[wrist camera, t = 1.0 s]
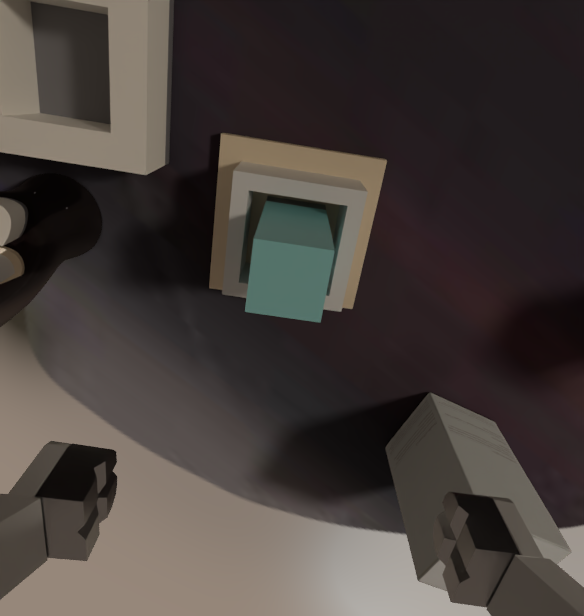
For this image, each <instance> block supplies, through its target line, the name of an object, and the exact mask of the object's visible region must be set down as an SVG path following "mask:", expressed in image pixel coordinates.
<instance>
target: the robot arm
mask: <svg viewBox="0 0 584 616" xmlns="http://www.w3.org/2000/svg"><path fill="white" fill-rule="evenodd" d="M116 460H117V459H116V451H114V450H111V449H104V448H98V447H91V446H84V445H78V444H68V443H62V442H55V441H50V442H49V443H47V444H46V445H45V446H44V447H43V449H42V450H41V451H40V452H39V454H38V455H37V456H36V458H35V459H34V460H33V462H32V463H31V464H30V466H29V467H28V468H27V470H26V471H25V473H24V474H23V475H22V476H21V478H20V479H19V480H18V482H17V483H16V484H15V486H14V487H13V488H12V490H11V491H10V492H9V494H0V599H2V598H3V597H4V596H5V595H6V594H8V592H10V591H11V590H12V589H13V588H15V587H16V586H17V585H18V584H19V583H21V582H22V581H23V580H24V579H25V578H26V577H28V576H29V575H30V574H31V573H33V572H34V571H35V570H36V569H37V568H39V567H40V566H41V565H42V564H43V563H45V562H46V561H47V558H57V559H70V560H83V561H87V560H88V557H89V555H90V553H91V551H92V549H93V547H94V545H95V542H96V540H97V538H98V536H99V523H100V522H101V521H103V520H104V519H106V518H107V517H108V514H109V512H110V510H111V507H112V505H113V501H114V498H115V495H116V488H117V476H116V475H115V473H114V472H113V469H114V467H115V465H116V462H117V461H116ZM442 504H443V506H444V509H445V510H444V511H443V512H442V513H440V514H439V515H437V517H436V520H435V523H434V526H433V542H434V548H435V552H436V555H437V557H438V558H439V559H440V560H441V561H442V562H443V563H444V565H445V566H446V567H445V569H444V571H443V574H442V575H443V578H444V581H445V585H446V588H447V591H448V594H449V598H450V601H451V602H453V603H460V604H468V605H474V606H481V607H487V610H488V612H489V613H490V614H491V616H584V587H582V586H581V585H580V584H579V583H578V582H576V581H575V580H574V579H573V578H572V577H571V576H569V575H568V574H567V573H566V572H565V571H564V570H562V569H561V568H560V567H559V566H558V565H557V564H555V563H554V562H553V561H552V560H551V559H547V558H544V557H543V556H542V554H541V552H540V550H539V548H538V546H537V545H536V543H535V541H534V539H533V537H532V535H531V534H530V532H529V530H528V528H527V526H526V524H525V523H524V521H523V519H522V517H521V515H520V513H519V511H518V510H517V508H516V506H515V504H514V502H513V501H511V500H510V499H509V498H502V497H493V496H483V495H475V494H466V493H457V492H448V493H447V494H446V495H445V497H444V499H443V502H442Z"/></svg>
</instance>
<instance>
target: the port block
mask: <svg viewBox="0 0 584 616" xmlns="http://www.w3.org/2000/svg"><path fill="white" fill-rule="evenodd" d="M173 19H174V0H0V152H3V153H9V154H16V155H22V156H28V157H35V158H41V159H47V160H54V161H60V162H67V163H73V164H79V165H86V166H92V167H98V168H105V169H111V170H118V171H124V172H130V173H137V174H143V175H147V174H149V173H151V172H153V171H155V170H157V169H159V168H160V167H162V166H164V165H166V164H168V163H169V147H170V115H171V83H172V51H173Z"/></svg>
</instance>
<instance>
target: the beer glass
mask: <svg viewBox="0 0 584 616" xmlns="http://www.w3.org/2000/svg"><path fill="white" fill-rule="evenodd" d="M101 231H102V216H101V212H100V209H99V206H98V204H97V202H96V200H95V199H94V197H93V196H92V195H91V193H90V192H89V191H88V190H87V189H86V188H85V187H84V186H83V185H81V184H80V183H79V182H77V181H76V180H74V179H72V178H70V177H67V176H65V175H61V174H56V173H44V174H39V175H36V176H33V177H31V178H29V179H28V180H26V181H25V182H23V183H22V184H21V185H20V186H18V187H17V188H16V189H14V190H11V191H0V327H1V326H2V325H4V324H5V323H7V322H8V321H9V320H11V319H12V318H13V317H14V316H16V315H17V314H18V313H19V312H20V311H21V310H23V309H24V308H25V307H26V306H27V305H28V304H29V303H30V302H31V301H32V300H33V299H34V298H35V296H36V295H37V294H38V293H39V292H40V291H41V290H42V288H43V287H44V286H45V284H46V283H47V282H48V280H49V279H50V278H51V276H52V275H53V274H54V272H55V271H56V269H57V268H58V267H59V266H60V264H61V263H62V262H64V261H65V260H68V259H71V258H74V257H77V256H80V255H82V254H84V253H86V252H88V251H89V250H91V249H92V248H93V247H94V246H95V244H96V243H97V241H98V240H99V238H100V235H101Z"/></svg>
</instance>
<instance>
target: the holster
mask: <svg viewBox="0 0 584 616" xmlns="http://www.w3.org/2000/svg"><path fill="white" fill-rule="evenodd" d="M386 163H387V160H386V159H382V158H375V157H369V156H363V155H357V154H351V153H345V152H339V151H332V150H326V149H320V148H314V147H308V146H302V145H296V144H289V143H283V142H277V141H271V140H265V139H259V138H253V137H246V136H240V135H234V134H228V133H221V140H220V153H219V166H218V179H217V192H216V205H215V218H214V231H213V244H212V256H211V269H210V282H209V288H212V289H219V290H222V294H223V295H230V296H237V297H244V298H247V290H248V282H249V273H250V265H251V256H252V248H253V239H254V236H255V233H256V230H257V227H258V224H259V221H260V218H261V215H262V212H263V209H264V206H265V203H266V200H267V196H271V197H278V198H284V199H290V200H297V201H303V202H310V203H316V204H322V205H325V207H326V211H327V216H328V221H329V225H330V230H331V235H332V239H333V244H334V249H335V253H334V258H333V263H332V268H331V273H330V277H329V282H328V287H327V292H326V297H325V302H324V307H323V309H326V310H333V311H340V312H341V310H342V308H349V309H353V304H354V300H355V296H356V291H357V287H358V283H359V279H360V274H361V270H362V266H363V261H364V257H365V253H366V249H367V244H368V240H369V236H370V231H371V227H372V223H373V219H374V214H375V210H376V206H377V202H378V197H379V193H380V189H381V184H382V180H383V176H384V172H385V167H386Z"/></svg>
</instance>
